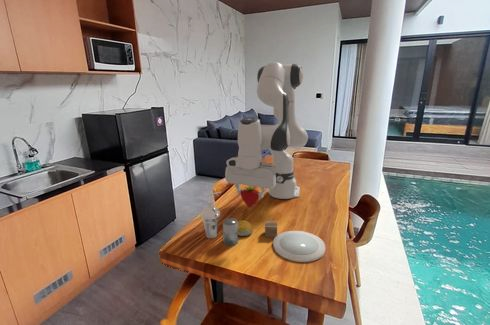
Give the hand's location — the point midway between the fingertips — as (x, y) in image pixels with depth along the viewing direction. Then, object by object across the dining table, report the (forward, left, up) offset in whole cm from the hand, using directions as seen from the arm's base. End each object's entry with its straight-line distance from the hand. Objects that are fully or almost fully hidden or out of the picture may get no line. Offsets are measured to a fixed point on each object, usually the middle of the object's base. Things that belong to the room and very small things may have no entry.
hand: (250, 195), depth 102 cm
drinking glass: (+4, -7, -20) cm, 22 cm away
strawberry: (0, 0, -5) cm, 5 cm away
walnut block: (-8, +6, -20) cm, 22 cm away
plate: (-4, +19, -20) cm, 28 cm away
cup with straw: (+3, -17, -20) cm, 26 cm away
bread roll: (-6, -9, -20) cm, 23 cm away
